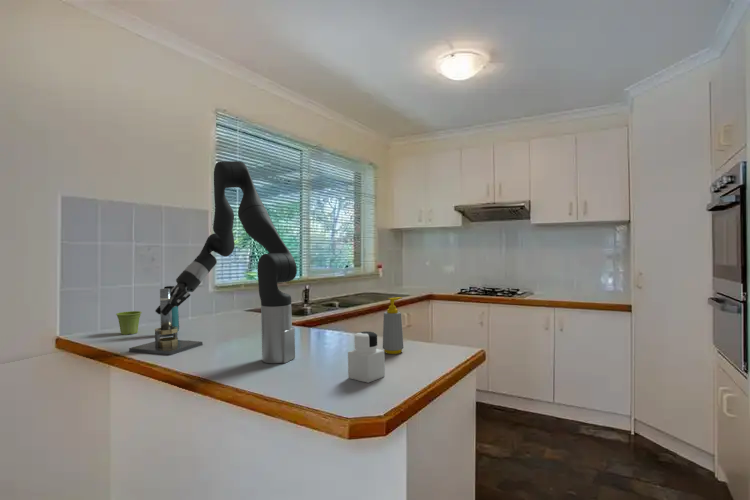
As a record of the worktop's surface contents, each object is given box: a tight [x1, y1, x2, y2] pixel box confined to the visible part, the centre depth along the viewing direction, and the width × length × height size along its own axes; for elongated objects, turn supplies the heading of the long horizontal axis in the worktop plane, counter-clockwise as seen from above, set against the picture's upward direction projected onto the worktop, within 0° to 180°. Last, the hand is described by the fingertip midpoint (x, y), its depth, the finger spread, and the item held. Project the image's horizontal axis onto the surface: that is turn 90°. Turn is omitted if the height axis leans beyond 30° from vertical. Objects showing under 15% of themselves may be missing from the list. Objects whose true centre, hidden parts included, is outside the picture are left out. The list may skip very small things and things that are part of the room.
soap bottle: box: [382, 296, 404, 355], centre depth 141 cm, size 7×7×18 cm
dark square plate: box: [128, 326, 203, 356], centre depth 152 cm, size 18×15×7 cm
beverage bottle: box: [163, 285, 180, 332], centre depth 176 cm, size 6×7×20 cm
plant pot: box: [115, 310, 143, 336], centre depth 180 cm, size 9×9×9 cm
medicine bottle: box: [347, 331, 386, 384], centre depth 115 cm, size 7×7×12 cm
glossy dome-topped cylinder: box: [159, 288, 172, 336], centre depth 152 cm, size 4×4×16 cm
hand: (160, 313), depth 151 cm, fingers closed on glossy dome-topped cylinder, 3 cm apart
